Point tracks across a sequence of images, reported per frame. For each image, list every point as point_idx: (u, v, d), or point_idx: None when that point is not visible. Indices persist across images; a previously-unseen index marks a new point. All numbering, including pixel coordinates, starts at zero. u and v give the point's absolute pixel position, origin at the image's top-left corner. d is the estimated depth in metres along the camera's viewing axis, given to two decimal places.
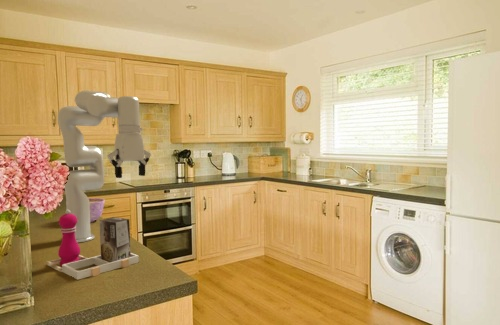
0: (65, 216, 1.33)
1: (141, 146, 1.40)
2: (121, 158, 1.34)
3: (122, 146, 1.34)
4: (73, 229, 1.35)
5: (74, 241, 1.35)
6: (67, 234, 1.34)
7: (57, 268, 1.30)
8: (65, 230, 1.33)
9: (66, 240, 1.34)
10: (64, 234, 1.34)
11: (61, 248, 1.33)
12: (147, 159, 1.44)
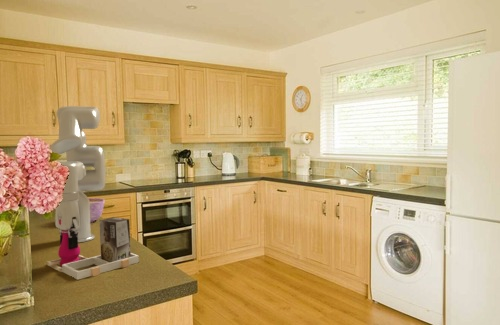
0: None
1: None
2: (79, 225, 1.34)
3: (78, 214, 1.34)
4: None
5: None
6: (67, 234, 1.34)
7: (57, 268, 1.30)
8: None
9: (66, 240, 1.34)
10: (64, 234, 1.34)
11: (61, 248, 1.33)
12: None
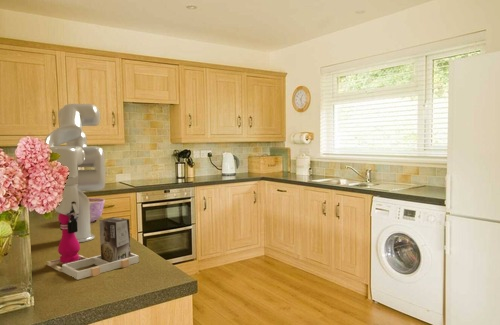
0: None
1: None
2: (78, 210, 1.34)
3: (78, 198, 1.34)
4: None
5: (74, 237, 1.35)
6: (67, 230, 1.34)
7: (57, 268, 1.30)
8: (64, 226, 1.34)
9: (66, 236, 1.34)
10: (64, 230, 1.34)
11: (61, 244, 1.33)
12: None
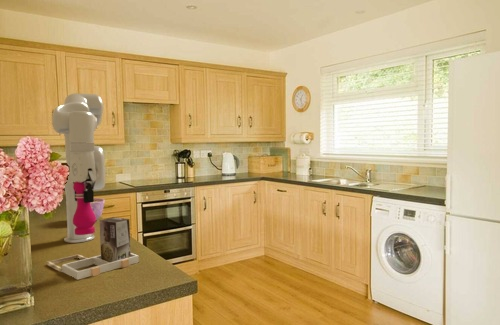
0: None
1: None
2: (95, 178, 1.25)
3: (94, 166, 1.25)
4: None
5: (89, 208, 1.26)
6: (82, 199, 1.25)
7: (57, 268, 1.30)
8: (80, 195, 1.25)
9: (81, 206, 1.25)
10: (79, 200, 1.25)
11: (76, 215, 1.24)
12: None
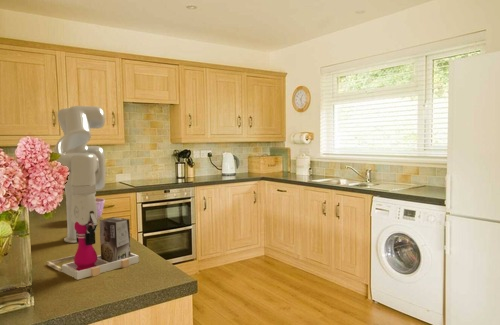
0: None
1: None
2: (96, 220, 1.26)
3: (96, 208, 1.26)
4: None
5: (91, 247, 1.27)
6: (84, 239, 1.25)
7: (57, 268, 1.30)
8: (81, 235, 1.25)
9: (82, 246, 1.25)
10: (80, 240, 1.25)
11: (78, 255, 1.25)
12: None
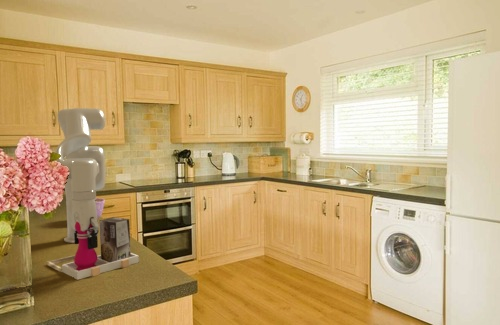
0: None
1: None
2: None
3: (96, 214, 1.26)
4: None
5: None
6: (84, 239, 1.25)
7: (57, 268, 1.30)
8: (81, 236, 1.25)
9: (83, 246, 1.25)
10: (80, 240, 1.25)
11: (78, 255, 1.25)
12: None
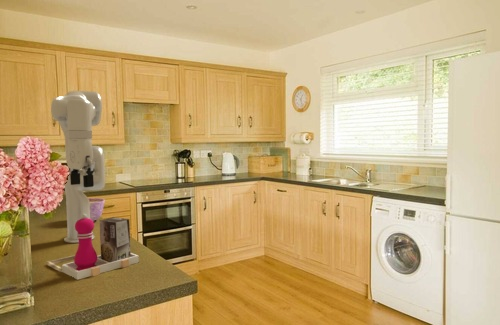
0: (81, 221, 1.25)
1: None
2: None
3: (92, 153, 1.27)
4: (90, 235, 1.26)
5: (91, 247, 1.27)
6: (84, 239, 1.25)
7: (57, 268, 1.30)
8: (81, 236, 1.25)
9: (83, 246, 1.25)
10: (80, 240, 1.25)
11: (78, 255, 1.25)
12: None
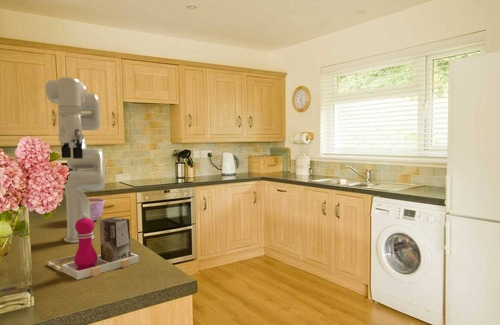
0: (82, 221, 1.25)
1: None
2: None
3: (81, 127, 1.38)
4: (90, 235, 1.26)
5: (91, 247, 1.27)
6: (84, 239, 1.25)
7: (57, 268, 1.30)
8: (82, 236, 1.25)
9: (83, 246, 1.25)
10: (80, 240, 1.25)
11: (78, 255, 1.25)
12: None
